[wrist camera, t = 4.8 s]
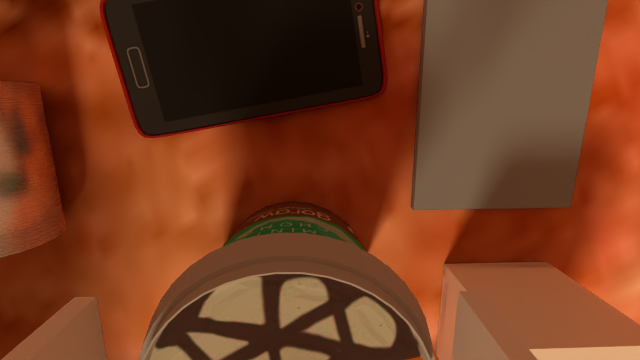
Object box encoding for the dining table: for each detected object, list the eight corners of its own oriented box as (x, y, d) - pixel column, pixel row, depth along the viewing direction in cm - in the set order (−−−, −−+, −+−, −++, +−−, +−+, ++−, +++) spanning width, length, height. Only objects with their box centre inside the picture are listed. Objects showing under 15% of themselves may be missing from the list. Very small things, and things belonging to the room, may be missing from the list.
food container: (371, 164, 21) (427, 221, 11) (387, 254, 23) (449, 373, 13) (175, 206, 21) (66, 298, 12) (204, 293, 23) (128, 439, 13)
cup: (436, 353, 25) (496, 472, 17) (444, 263, 23) (515, 349, 15) (531, 350, 25) (635, 466, 17) (546, 261, 23) (668, 344, 15)
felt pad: (410, 206, 22) (413, 209, 21) (428, -62, 18) (431, -68, 18) (563, 204, 22) (570, 207, 22) (609, -59, 19) (619, -64, 18)
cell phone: (102, 0, 19) (92, -5, 18) (368, -49, 19) (371, -57, 18) (145, 139, 21) (137, 141, 20) (386, 95, 21) (390, 95, 20)
